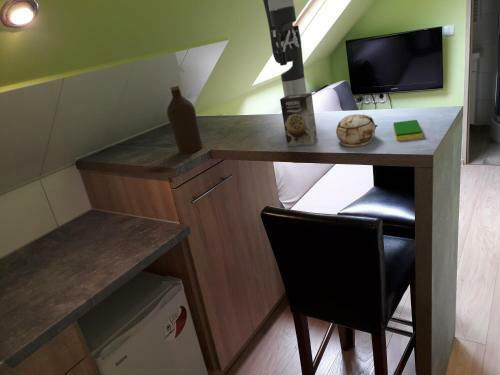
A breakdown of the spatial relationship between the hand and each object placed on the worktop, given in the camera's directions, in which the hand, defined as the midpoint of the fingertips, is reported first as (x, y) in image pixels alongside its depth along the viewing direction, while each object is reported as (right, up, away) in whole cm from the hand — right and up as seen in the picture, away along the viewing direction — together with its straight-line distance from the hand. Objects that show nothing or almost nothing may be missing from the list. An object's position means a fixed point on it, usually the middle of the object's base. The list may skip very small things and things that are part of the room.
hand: (290, 62), depth 124 cm
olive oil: (-36, -25, +31) cm, 53 cm away
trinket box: (+21, -24, +1) cm, 32 cm away
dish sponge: (+36, -23, -3) cm, 43 cm away
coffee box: (+5, -24, +10) cm, 27 cm away
